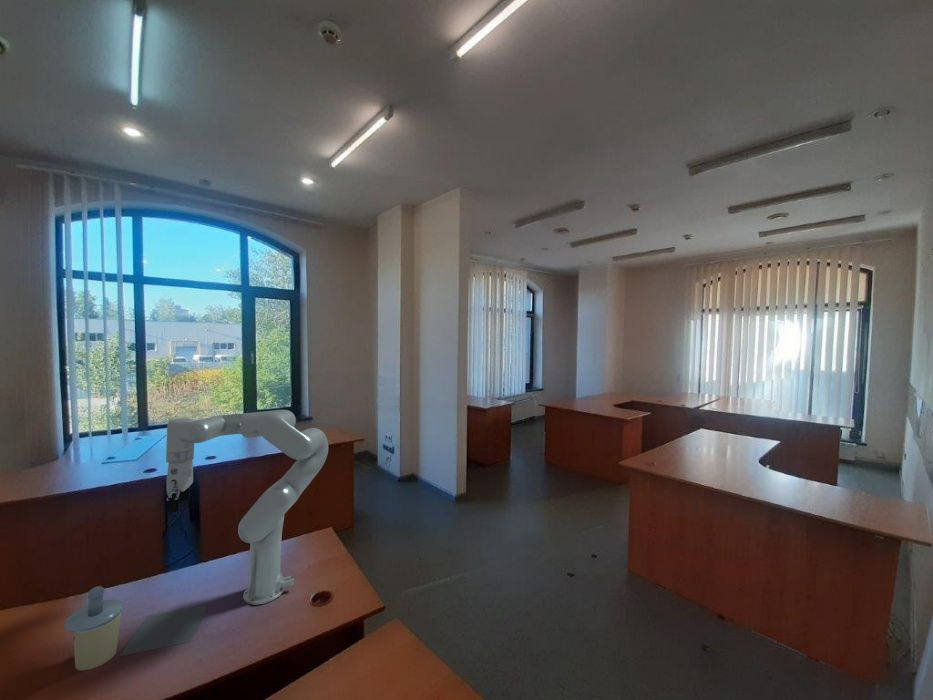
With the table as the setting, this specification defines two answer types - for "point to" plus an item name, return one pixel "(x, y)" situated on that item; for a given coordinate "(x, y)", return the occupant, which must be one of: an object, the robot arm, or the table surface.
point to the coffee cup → (96, 644)
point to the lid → (94, 612)
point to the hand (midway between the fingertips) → (178, 505)
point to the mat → (166, 630)
